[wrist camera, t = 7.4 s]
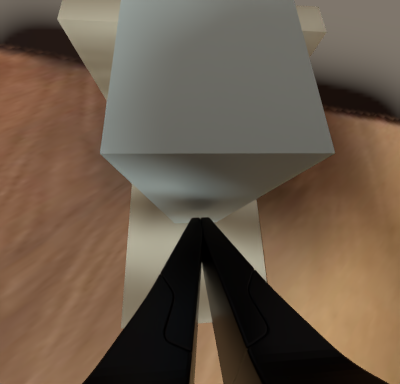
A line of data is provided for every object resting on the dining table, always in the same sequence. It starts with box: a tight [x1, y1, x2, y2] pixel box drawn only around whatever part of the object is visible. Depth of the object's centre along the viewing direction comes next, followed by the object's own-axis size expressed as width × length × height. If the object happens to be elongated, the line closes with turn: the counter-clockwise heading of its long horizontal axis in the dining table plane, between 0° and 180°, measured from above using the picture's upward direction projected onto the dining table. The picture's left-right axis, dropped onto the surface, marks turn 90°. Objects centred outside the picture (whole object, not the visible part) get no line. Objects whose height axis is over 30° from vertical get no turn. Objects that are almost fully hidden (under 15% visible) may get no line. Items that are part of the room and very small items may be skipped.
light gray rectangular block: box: [100, 0, 335, 223], centre depth 9 cm, size 6×4×12 cm
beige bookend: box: [58, 0, 326, 328], centre depth 10 cm, size 16×11×10 cm
